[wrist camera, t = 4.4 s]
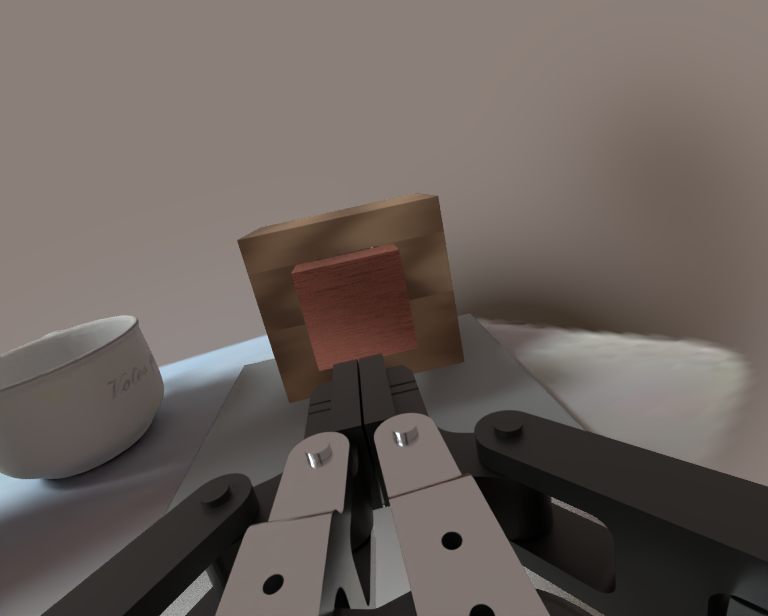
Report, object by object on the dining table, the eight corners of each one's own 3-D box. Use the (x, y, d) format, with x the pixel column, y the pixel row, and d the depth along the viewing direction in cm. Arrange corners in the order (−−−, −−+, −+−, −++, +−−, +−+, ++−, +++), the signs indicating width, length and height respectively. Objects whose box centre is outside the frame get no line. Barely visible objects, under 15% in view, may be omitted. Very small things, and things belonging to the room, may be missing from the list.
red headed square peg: (318, 370, 20) (291, 273, 18) (325, 314, 28) (307, 245, 27) (417, 348, 20) (398, 249, 19) (395, 298, 29) (380, 228, 27)
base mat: (158, 558, 18) (149, 542, 18) (247, 375, 35) (244, 365, 35) (590, 453, 19) (589, 434, 18) (471, 323, 36) (469, 313, 35)
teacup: (178, 452, 26) (128, 339, 24) (-35, 542, 22) (-122, 416, 20) (177, 378, 38) (145, 298, 36) (40, 427, 34) (-7, 340, 32)
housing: (293, 416, 27) (237, 240, 24) (302, 370, 34) (260, 227, 30) (466, 375, 28) (438, 195, 24) (442, 337, 34) (417, 193, 31)
